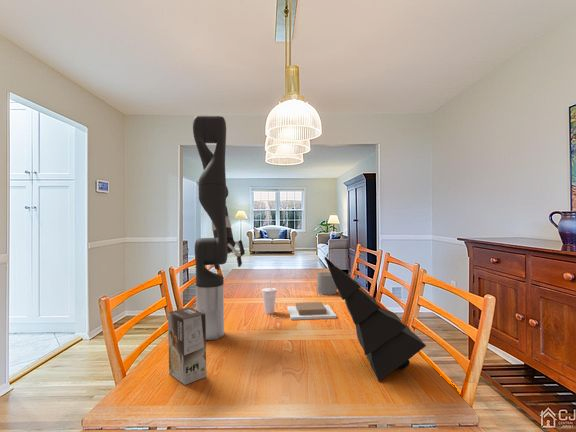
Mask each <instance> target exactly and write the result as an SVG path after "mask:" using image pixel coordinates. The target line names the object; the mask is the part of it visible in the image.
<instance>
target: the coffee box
mask: <svg viewBox="0 0 576 432" xmlns="http://www.w3.org/2000/svg"><path fill="white" fill-rule="evenodd" d="M167 323H168V324H167V327H168V329H167V330H168V331H167V335H168V340H167V341H168V374H169V375H171V376H172V377H173V378H175V379H176V380H177V381H179V382H180V383H181V384H183V386H187V385H189V384H191V383H194V382H196V381H199V380H201V379H204V378H206V377H207V340H206V318H205V313H202V312H199V311H197V310H196V309H194V308H192V307H184V308H180V309H174V310H171V311H168V312H167Z"/></svg>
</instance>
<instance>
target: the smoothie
mask: <svg viewBox="0 0 576 432" xmlns="http://www.w3.org/2000/svg"><path fill="white" fill-rule="evenodd" d="M277 293H278V292H277V288H274V287H272V279H270V278H269V287H264V288H262V289H261V294H262V299H263V300H262V301H263V307H264V308H263V309H264V313H265V314H266V315H267V314H268V315H270V314H274V313H275V304H276V297H277Z"/></svg>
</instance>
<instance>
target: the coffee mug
mask: <svg viewBox="0 0 576 432" xmlns="http://www.w3.org/2000/svg"><path fill="white" fill-rule="evenodd" d="M316 275H317V281H316V282H317V294H318V295H321V294H322V295H323V296H333V294H334V295H336V293H337V292H338V289H337V287H336V285H335V283H334V280H333V278H332V275H331V273H330V271H329V272H328V271H324V272H323V271H321V272H318V273H317V274H316ZM337 294H338V293H337ZM322 295H321V296H322Z"/></svg>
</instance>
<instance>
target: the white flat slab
mask: <svg viewBox="0 0 576 432" xmlns="http://www.w3.org/2000/svg"><path fill="white" fill-rule="evenodd" d="M286 307H287V308H286V309H287V312H288V315H289V318H290V321H299V320H301V321H302V320H320V319H321V320H325V319H337V314H336V313H335V312H334V311H333V309H332V307H330V305H329V304H323V302H321V301H315V302H314V301H313V302H311V301H310V302H309V301H308V302H306V301H305V302H295V305H287V306H286Z"/></svg>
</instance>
